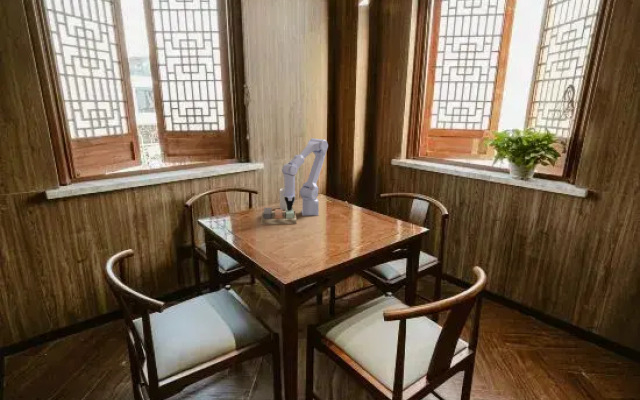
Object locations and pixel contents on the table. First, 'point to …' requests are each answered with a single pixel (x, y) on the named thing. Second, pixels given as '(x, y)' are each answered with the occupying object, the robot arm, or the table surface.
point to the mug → (283, 200)
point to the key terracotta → (278, 214)
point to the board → (278, 221)
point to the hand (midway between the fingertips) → (289, 209)
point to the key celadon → (289, 214)
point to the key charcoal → (267, 213)
